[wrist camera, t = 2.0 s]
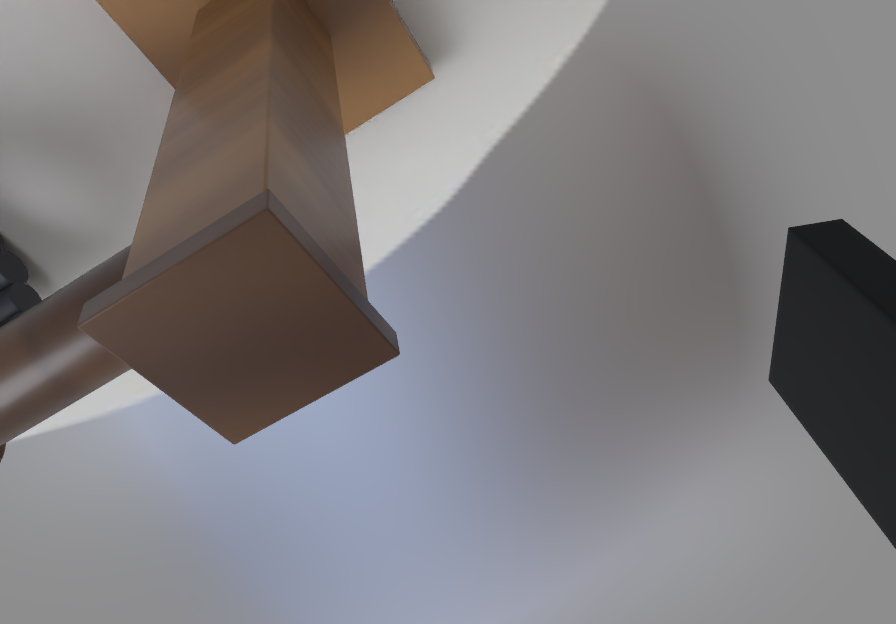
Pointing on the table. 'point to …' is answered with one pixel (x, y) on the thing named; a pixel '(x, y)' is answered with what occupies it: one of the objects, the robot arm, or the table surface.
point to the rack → (232, 222)
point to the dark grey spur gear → (14, 287)
